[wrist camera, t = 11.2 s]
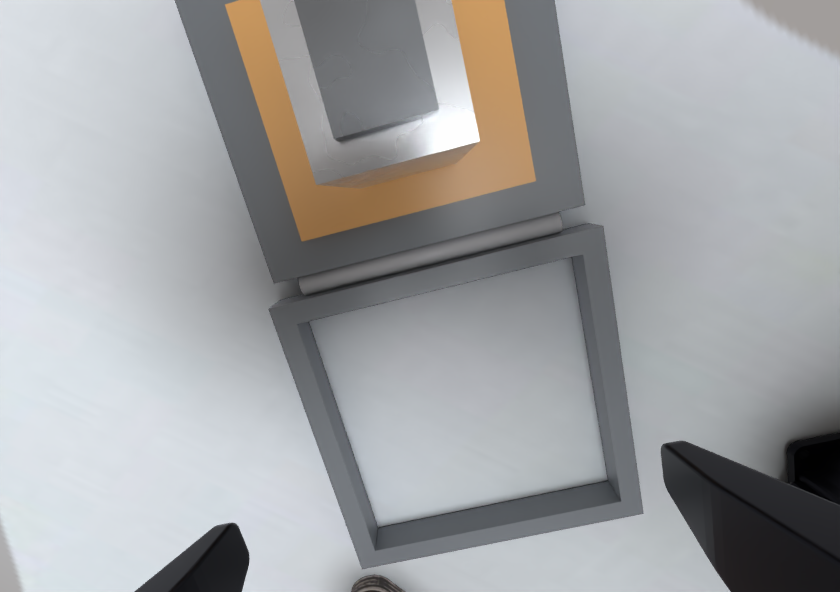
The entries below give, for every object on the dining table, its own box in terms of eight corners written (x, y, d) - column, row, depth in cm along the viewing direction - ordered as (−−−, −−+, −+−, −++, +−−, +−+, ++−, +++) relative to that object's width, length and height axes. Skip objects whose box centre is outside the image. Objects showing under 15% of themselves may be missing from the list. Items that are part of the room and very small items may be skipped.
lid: (526, -108, 15) (539, -146, 14) (578, 225, 18) (594, 229, 17) (186, -2, 16) (158, -26, 15) (289, 297, 19) (276, 308, 18)
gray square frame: (588, 223, 18) (603, 225, 17) (628, 492, 22) (643, 513, 20) (279, 300, 19) (268, 308, 18) (365, 545, 23) (362, 569, 22)
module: (419, -4, 15) (415, -198, 7) (456, 163, 16) (483, 138, 9) (315, 27, 15) (213, -131, 8) (360, 188, 16) (310, 184, 9)
